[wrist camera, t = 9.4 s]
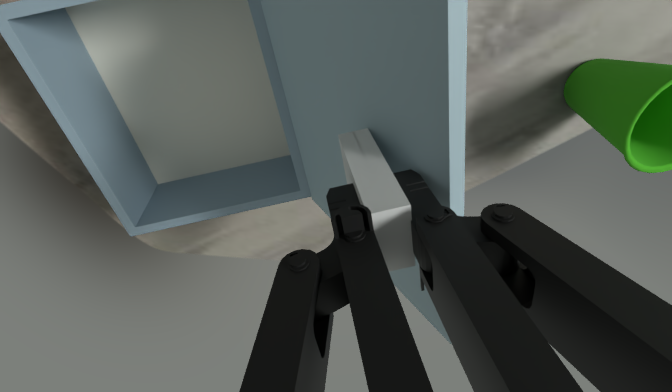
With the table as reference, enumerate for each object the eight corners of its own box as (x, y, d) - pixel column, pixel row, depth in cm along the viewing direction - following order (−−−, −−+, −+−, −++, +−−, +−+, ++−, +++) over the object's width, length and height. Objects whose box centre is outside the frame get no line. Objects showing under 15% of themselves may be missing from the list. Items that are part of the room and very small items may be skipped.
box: (52, -4, 29) (-16, 8, 22) (254, -48, 29) (247, -49, 22) (156, 188, 39) (130, 236, 32) (306, 155, 39) (311, 196, 32)
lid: (446, -114, 9) (469, -118, 9) (246, -51, 22) (258, -53, 22) (451, 344, 19) (462, 337, 19) (312, 199, 32) (319, 195, 32)
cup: (527, 111, 39) (602, 158, 30) (583, 23, 35) (690, 47, 26) (589, 134, 42) (676, 184, 33) (648, 54, 38) (767, 87, 29)
